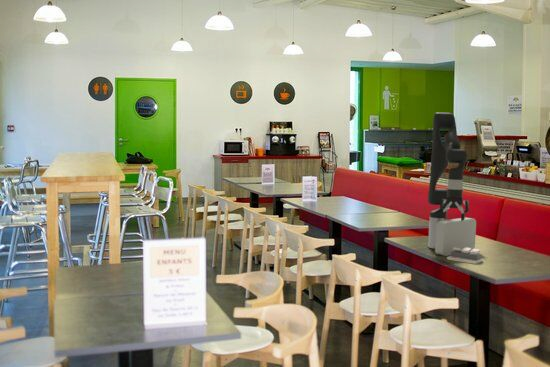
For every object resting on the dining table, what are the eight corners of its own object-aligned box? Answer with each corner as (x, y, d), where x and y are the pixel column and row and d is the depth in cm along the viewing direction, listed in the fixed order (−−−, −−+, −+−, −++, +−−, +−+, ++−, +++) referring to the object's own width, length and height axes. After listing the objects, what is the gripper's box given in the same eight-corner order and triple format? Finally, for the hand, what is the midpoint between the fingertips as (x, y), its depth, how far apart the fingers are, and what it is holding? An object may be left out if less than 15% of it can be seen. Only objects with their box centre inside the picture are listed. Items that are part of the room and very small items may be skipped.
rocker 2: (465, 249, 349) (465, 247, 348) (471, 250, 347) (471, 247, 346) (461, 252, 345) (461, 250, 345) (467, 253, 343) (467, 251, 343)
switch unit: (454, 256, 353) (455, 249, 353) (482, 260, 344) (483, 254, 344) (446, 259, 346) (447, 252, 345) (475, 264, 337) (475, 257, 336)
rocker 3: (473, 250, 346) (473, 248, 346) (479, 251, 344) (479, 249, 344) (470, 253, 342) (470, 251, 342) (476, 254, 340) (476, 252, 340)
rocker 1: (456, 249, 351) (457, 247, 351) (462, 250, 349) (463, 248, 349) (453, 249, 347) (453, 247, 347) (459, 250, 345) (459, 248, 345)
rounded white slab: (462, 248, 377) (464, 216, 375) (474, 250, 371) (476, 218, 369) (431, 253, 359) (432, 220, 357) (442, 256, 353) (444, 222, 351)
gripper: (470, 188, 341) (469, 220, 342) (443, 187, 348) (441, 218, 349) (467, 189, 335) (466, 221, 336) (439, 188, 342) (437, 219, 343)
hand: (453, 220), depth 342 cm, fingers open, 8 cm apart
